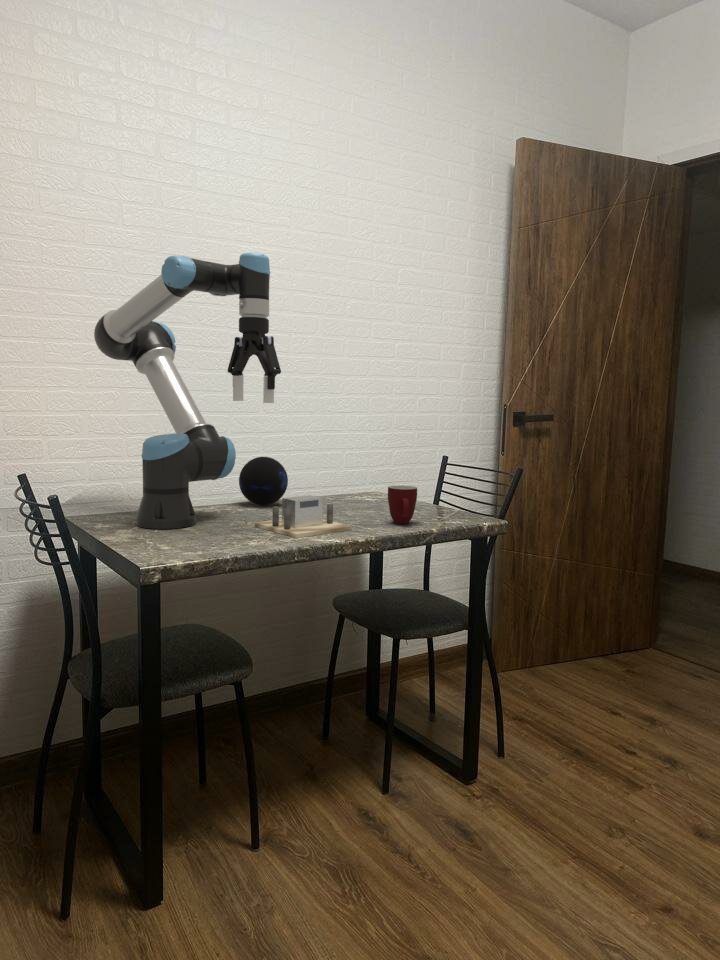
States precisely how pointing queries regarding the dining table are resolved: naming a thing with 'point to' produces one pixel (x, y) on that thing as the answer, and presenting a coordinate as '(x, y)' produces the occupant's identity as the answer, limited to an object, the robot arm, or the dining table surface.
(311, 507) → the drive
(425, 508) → the dining table surface
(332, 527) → the wooden peg board
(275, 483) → the decorative sphere
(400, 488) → the mug
